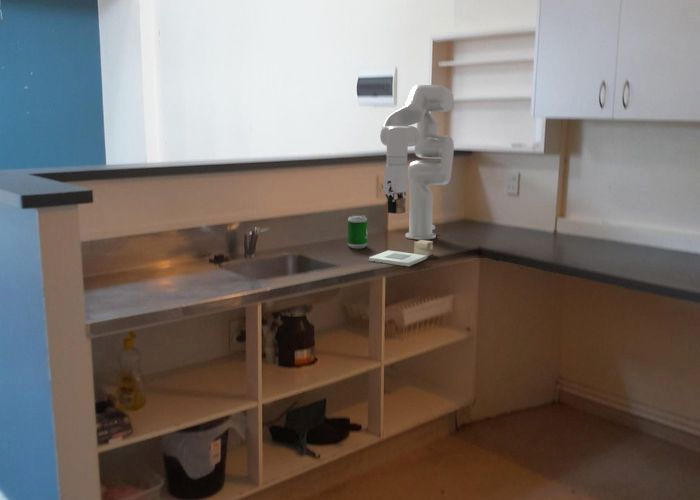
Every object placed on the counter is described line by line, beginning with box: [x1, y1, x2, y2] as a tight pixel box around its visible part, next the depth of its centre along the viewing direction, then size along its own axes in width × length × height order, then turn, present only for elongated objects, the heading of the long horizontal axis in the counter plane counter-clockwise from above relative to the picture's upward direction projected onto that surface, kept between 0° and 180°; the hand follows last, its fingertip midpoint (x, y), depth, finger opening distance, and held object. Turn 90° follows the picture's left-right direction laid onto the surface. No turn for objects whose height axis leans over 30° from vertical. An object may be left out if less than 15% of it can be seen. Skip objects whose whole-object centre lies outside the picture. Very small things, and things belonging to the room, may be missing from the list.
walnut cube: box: [385, 197, 406, 215], centre depth 259 cm, size 5×5×5 cm
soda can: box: [347, 214, 368, 249], centre depth 275 cm, size 8×8×12 cm
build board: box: [368, 250, 428, 267], centre depth 254 cm, size 14×16×1 cm
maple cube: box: [413, 240, 434, 258], centre depth 261 cm, size 5×5×5 cm
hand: (395, 211), depth 259 cm, fingers closed on walnut cube, 4 cm apart
